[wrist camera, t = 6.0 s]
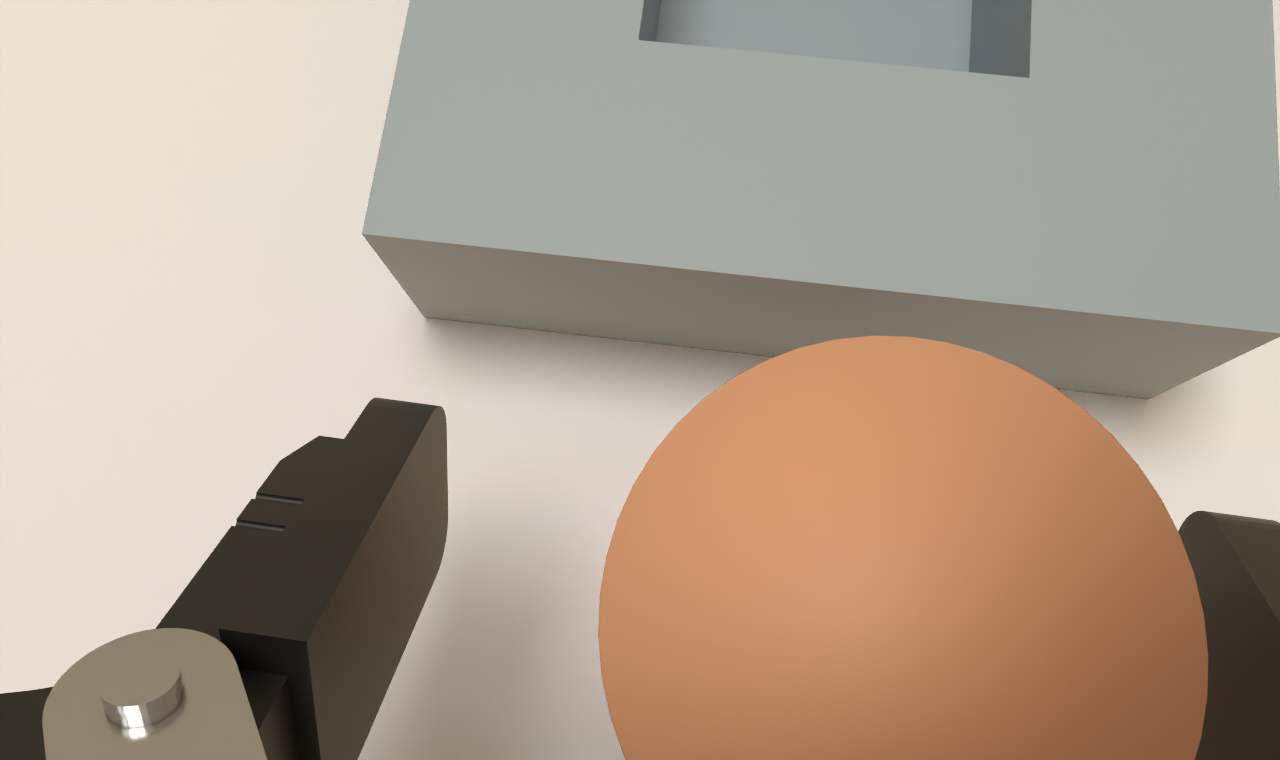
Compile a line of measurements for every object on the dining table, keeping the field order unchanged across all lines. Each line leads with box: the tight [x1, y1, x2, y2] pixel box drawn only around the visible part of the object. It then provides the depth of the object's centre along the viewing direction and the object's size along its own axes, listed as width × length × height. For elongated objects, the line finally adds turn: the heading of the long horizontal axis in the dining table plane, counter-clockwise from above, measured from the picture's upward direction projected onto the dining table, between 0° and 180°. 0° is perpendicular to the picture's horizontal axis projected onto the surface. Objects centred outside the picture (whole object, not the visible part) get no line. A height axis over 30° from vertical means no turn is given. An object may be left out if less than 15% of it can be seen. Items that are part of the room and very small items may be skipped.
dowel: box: [598, 336, 1208, 760], centre depth 10 cm, size 3×3×10 cm
